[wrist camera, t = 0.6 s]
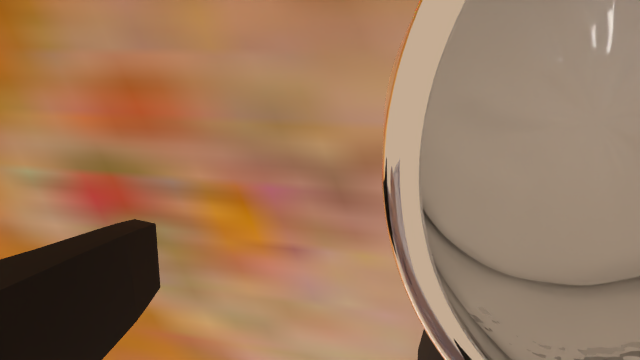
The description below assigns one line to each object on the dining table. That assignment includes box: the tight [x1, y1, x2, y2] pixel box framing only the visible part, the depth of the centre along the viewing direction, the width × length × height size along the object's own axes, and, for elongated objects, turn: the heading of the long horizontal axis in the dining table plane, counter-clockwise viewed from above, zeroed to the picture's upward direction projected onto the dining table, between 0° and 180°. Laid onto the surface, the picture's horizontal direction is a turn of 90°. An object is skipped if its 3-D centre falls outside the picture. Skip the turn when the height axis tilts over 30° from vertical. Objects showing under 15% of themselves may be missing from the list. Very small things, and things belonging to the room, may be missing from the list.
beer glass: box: [382, 0, 640, 360], centre depth 9 cm, size 7×7×15 cm
